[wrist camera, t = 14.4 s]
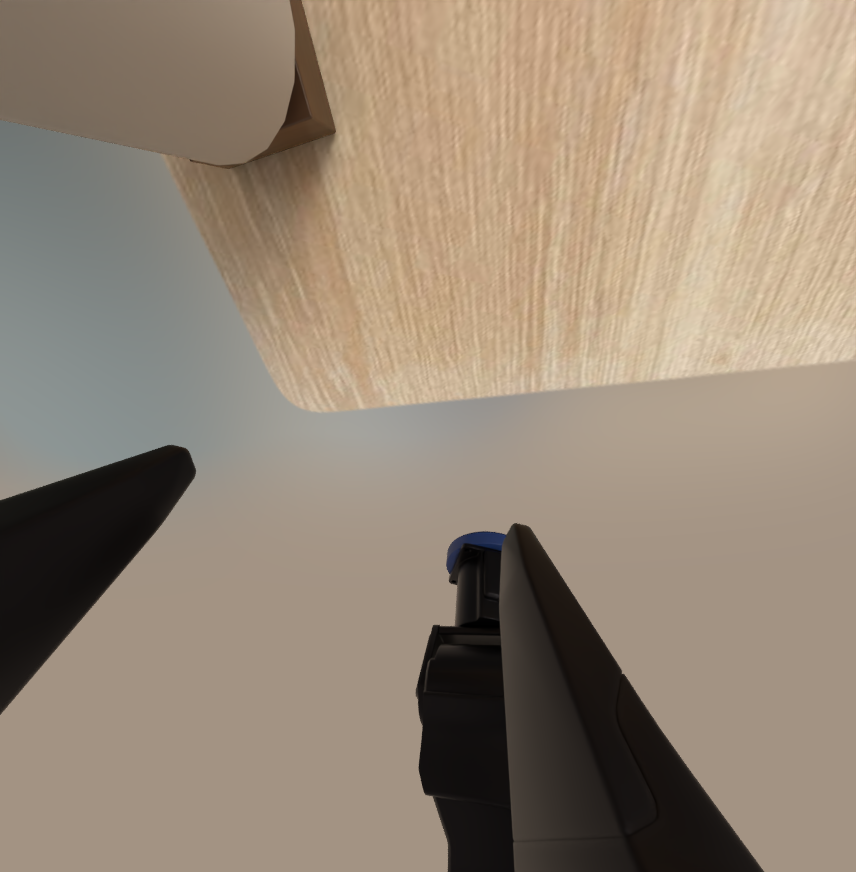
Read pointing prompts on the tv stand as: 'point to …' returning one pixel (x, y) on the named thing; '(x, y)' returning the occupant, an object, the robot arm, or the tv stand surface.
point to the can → (151, 72)
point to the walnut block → (301, 96)
